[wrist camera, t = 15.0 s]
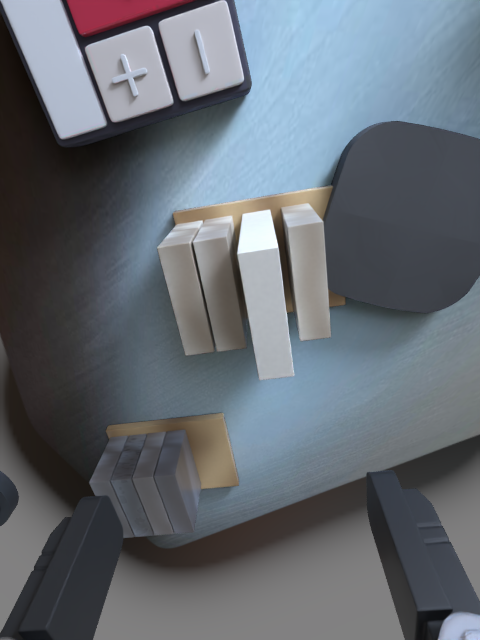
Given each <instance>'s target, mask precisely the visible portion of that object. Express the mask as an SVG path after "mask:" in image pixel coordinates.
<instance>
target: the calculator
mask: <svg viewBox="0 0 480 640" xmlns="http://www.w3.org/2000/svg"><path fill="white" fill-rule="evenodd" d="M0 12H1V14H2V16H3V19H4V21H5V23H6V26H7V28H8V30H9V33H10V35H11V37H12V40H13V42H14V44H15V47H16V49H17V51H18V53H19V56H20V58H21V60H22V63H23V65H24V67H25V70H26V72H27V74H28V77H29V79H30V81H31V83H32V86H33V88H34V90H35V93H36V95H37V97H38V100H39V102H40V104H41V107H42V109H43V111H44V113H45V116H46V118H47V120H48V123H49V125H50V127H51V130H52V132H53V134H54V137H55V139H56V141H57V143H58V144H59V145H60V146H61V147H80V146H84V145H88V144H91V143H94V142H97V141H101V140H104V139H107V138H110V137H114V136H117V135H120V134H122V133H125V132H128V131H131V130H134V129H137V128H141V127H144V126H147V125H150V124H154V123H157V122H160V121H163V120H167V119H170V118H173V117H176V116H180V115H183V114H186V113H189V112H193V111H196V110H199V109H202V108H206V107H209V106H212V105H215V104H219V103H222V102H225V101H228V100H231V99H235V98H238V97H241V96H244V95H247V94H248V93H249V92H250V89H251V86H252V81H251V76H250V71H249V67H248V62H247V58H246V53H245V48H244V44H243V39H242V34H241V30H240V25H239V21H238V16H237V11H236V7H235V2H234V0H0Z"/></svg>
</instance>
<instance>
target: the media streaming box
mask: <svg viewBox="0 0 480 640" xmlns="http://www.w3.org/2000/svg"><path fill="white" fill-rule="evenodd" d="M331 185H332V186H333V189H332V192H331V195H330V198H329V201H328V204H327V207H326V211H325V214H324V217H323V225H324V239H325V254H326V269H327V284H328V289H329V290H330V291H332V292H333V293H335V294H338V295H341V296H344V297H347V298H350V299H354V300H357V301H361V302H364V303H368V304H372V305H377V306H381V307H386V308H391V309H397V310H403V311H410V312H418V313H431V312H435V311H439V310H442V309H444V308H447V307H449V306H450V305H452V304H454V303H456V302H457V301H458V300H460V299H461V298H462V297H463V296H465V295H466V294H467V293H468V292H469V290H470V289H471V287H472V286H473V285H474V283H475V282H476V280H477V279H478V277H479V276H480V139H477V138H474V137H471V136H467V135H463V134H460V133H456V132H452V131H447V130H443V129H439V128H434V127H429V126H424V125H419V124H413V123H407V122H401V121H391V122H382V123H378V124H374V125H372V126H369V127H367V128H366V129H364V130H362V131H361V132H359V133H358V134H357V135H356V136H355V137H354V138H353V139H352V140H351V141H350V142H349V143H348V145H347V146H346V148H345V149H344V151H343V153H342V156H341V158H340V161H339V164H338V166H337V169H336V172H335V175H334V178H333V181H332V184H331Z"/></svg>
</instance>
